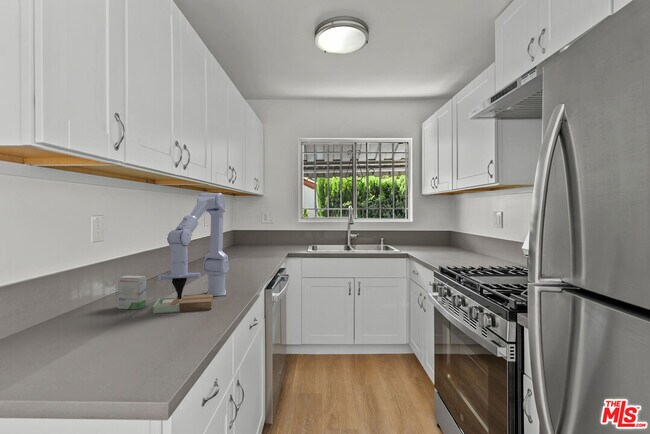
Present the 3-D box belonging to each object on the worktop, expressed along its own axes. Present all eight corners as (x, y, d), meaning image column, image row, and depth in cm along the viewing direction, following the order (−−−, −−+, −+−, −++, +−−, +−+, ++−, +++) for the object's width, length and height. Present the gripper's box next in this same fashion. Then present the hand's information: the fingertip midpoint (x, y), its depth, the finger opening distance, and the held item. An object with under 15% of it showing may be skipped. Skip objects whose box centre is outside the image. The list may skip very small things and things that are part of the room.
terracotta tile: (172, 307, 137) (168, 304, 137) (180, 298, 138) (177, 295, 137) (170, 310, 133) (167, 308, 132) (179, 301, 133) (176, 298, 133)
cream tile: (176, 299, 143) (176, 303, 143) (164, 299, 142) (164, 303, 142) (174, 301, 139) (174, 306, 139) (161, 302, 138) (161, 306, 138)
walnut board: (183, 302, 145) (183, 295, 145) (212, 300, 148) (212, 293, 148) (179, 311, 133) (179, 303, 133) (211, 309, 135) (211, 301, 135)
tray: (159, 304, 143) (159, 298, 143) (183, 302, 145) (183, 296, 145) (152, 313, 130) (152, 306, 130) (179, 311, 133) (179, 305, 133)
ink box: (117, 309, 136) (116, 277, 136) (126, 305, 141) (125, 274, 141) (139, 309, 135) (138, 278, 135) (147, 306, 140) (146, 275, 140)
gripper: (156, 264, 130) (156, 302, 130) (199, 262, 133) (199, 299, 134) (159, 261, 137) (160, 297, 137) (200, 260, 140) (200, 295, 141)
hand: (179, 298), depth 136 cm, fingers closed, pressing on terracotta tile
